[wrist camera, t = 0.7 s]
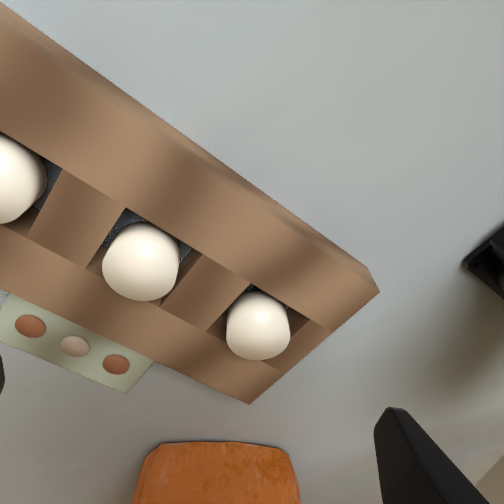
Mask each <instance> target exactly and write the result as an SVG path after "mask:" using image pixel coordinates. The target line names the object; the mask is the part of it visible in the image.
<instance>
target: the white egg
mask: <svg viewBox="0 0 504 504" xmlns="http://www.w3.org/2000/svg"><path fill="white" fill-rule="evenodd" d="M226 340H227V344H228V346H229V348H230V349H231V350H232V351H233V352H234V353H235V354H236V355H238V356H240V357H242V358H245V359H249V360H265V359H269V358H272V357H275V356H277V355H278V354H280V353H281V352H282V351H283V350H284V349H285V348H286V347H287V345H288V344H289V341H290V330H289V324H288V318H287V312H286V307H285V305H284V303H283V302H281V301H280V300H278V299H276V298H275V297H273V296H271V295H270V294H268V293H266V292H265V291H250V292H246V293H243V294H241V295H239V296H238V297H237V298H236V299H235V300H234V302H233V303H232V304H231V305H230V306H229V307H228V311H227V333H226Z"/></svg>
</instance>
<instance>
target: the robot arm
mask: <svg viewBox="0 0 504 504" xmlns="http://www.w3.org/2000/svg"><path fill="white" fill-rule="evenodd" d="M475 261H476V262H475ZM473 262H475V263H474V264H472V263H473ZM464 265H465V266H466V267H467V269H468V270H469V271H471V272H472V273H473V274H474V275H475V276H477V277H478V278H479V279H480V280H481V281H483V282H484V283H485V284H486V285H487V286H489V287H490V288H491V289H492V290H493V291H495V292H496V293H497V294H498V295H499V296H501V297H502V298H503V299H504V228H502V229H501V230H500V231H499V232H498V233H496V234H495V235H494V236H493V237H491V238H490V239H489V240H488V241H486V242H485V243H484V244H483V245H481V246H480V247H479V248H478V249H477V250H475V251H474V252H473V253H472V254H470V255H469V256H468V257H467V258H466V259H465V261H464ZM4 383H5V375H4V369H3V363H2V358H1V356H0V394H1V392H2V389H3V387H4ZM374 442H375V450H376V457H377V465H378V472H379V480H380V487H381V494H382V500H383V504H489V502H488V501H487V500H486V499H485V498H484V497H483V496H482V495H481V494H480V492H479V491H478V490H477V489H476V488H475V487H474V486H473V485H472V483H471V482H470V481H469V480H468V479H467V478H466V477H465V476H464V474H463V473H462V472H461V471H460V470H459V469H458V468H457V467H456V466H455V464H454V463H453V462H452V461H451V460H450V459H449V458H448V457H447V456H446V454H445V453H444V452H443V451H442V450H441V449H440V448H439V447H438V445H437V444H436V443H435V442H434V441H433V440H432V439H431V438H430V437H429V435H428V434H427V433H426V432H425V431H424V430H423V429H422V428H421V426H420V425H419V424H418V423H417V422H416V421H415V420H414V419H413V418H412V416H411V415H410V414H409V413H408V412H407V411H406V410H404V409H401V408H395V407H388V408H386V409H385V411H384V412H383V414H382V416H381V417H380V419H379V420H378V422H377V424H376V425H375V428H374Z"/></svg>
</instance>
